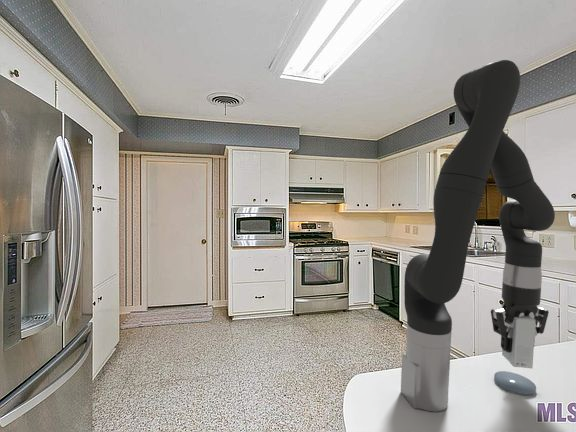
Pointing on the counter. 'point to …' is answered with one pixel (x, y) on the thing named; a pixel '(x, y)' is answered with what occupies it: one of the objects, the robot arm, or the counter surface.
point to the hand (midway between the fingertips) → (517, 349)
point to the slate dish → (515, 383)
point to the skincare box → (522, 343)
